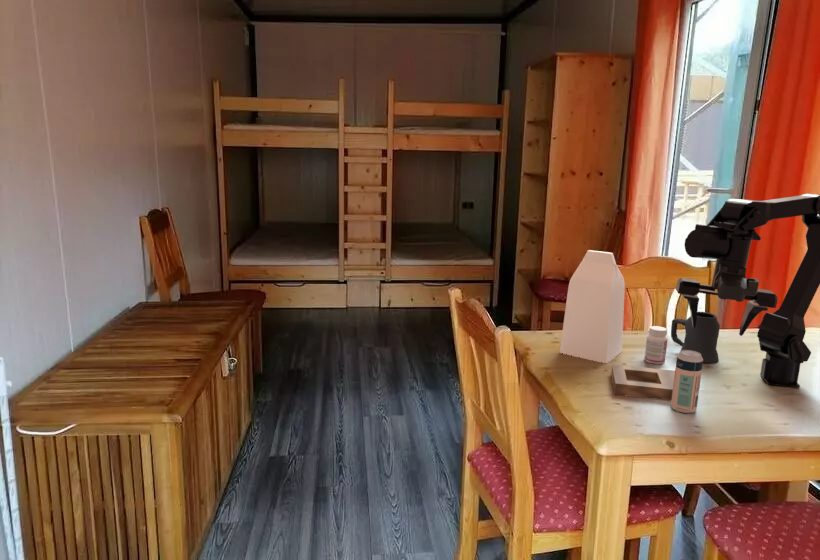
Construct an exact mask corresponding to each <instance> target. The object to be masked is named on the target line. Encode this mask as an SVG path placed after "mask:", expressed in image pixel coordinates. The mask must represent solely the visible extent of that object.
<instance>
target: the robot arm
mask: <svg viewBox="0 0 820 560" xmlns="http://www.w3.org/2000/svg"><path fill="white" fill-rule="evenodd" d="M799 216H801V221H802V223H803V224H804V225H805V227H806V228H807V231H806V233H805V242H806V247H807V249H806V253H804V256H803V259H802V260H801V262H800V264H799V266H798V269H797V271H796V274H795V275H794V277H793V279H792V281H791V283H790V286H789V287H788V290H787V292H786V294H785V296H784V298H783V301H782V302H781V305H780V307H779V308H778V309H777V306H778V305H777V304H778V300H779V299H778V296H777V294H776V293H774V292H773V291H772V290H770V289H762V288H759V284H760V281H759V279H758V278H752V277H746V273H747V264H748V261H749V254H750V250H751V246H752V245H751V244H752V241H761V240H762V238H761V236H760V235H759V234H758V233H757V231H756V229H758V228H760V227H763V226H765V225H766V224H768V223H769V222H770V221H773V220H780V219H785V218H792V217H793V218H794V217H799ZM684 249H685V252H686V254H687V255H688V257H690V258H693V259H694V258H696V259H711V260H712V259H713V260H715V259H716V260H715V264H714V265H715V266H714V271H713V276H712V280H711V285H709V284H701V283H700V282H699V280H698V279H692V278H687V277H680V278H678V279H677V282H676V285H675V286H676V287H675V291H676V292H677V294H679V295H681V296H682V298H684V299H686V300H687V303H688V307H689V310H690V312H689V313H690V316H691V319H692V325H693V328H695V327H696V323H697V312H699V311H698V309H699V308H698V307H699V301H700V298H699V296H698V295H699V293H700V294H705V295H710V296H711V295H712V296H717V297H718V298H719V299H721V300H724V301H725V300H731V301H736V302H737V303H738V302H739V303H742V302H744V301H745V300H746V305H745V309H744V312H743V315H742V320H741V324H740V327H739V333H738V334H739V336H740V337H742V336H743V335H744V334H745V332H746V331H747V329H748V328H749V326H750V325H751V323H752V322H753V320H754V319H755V318H756V317H757V316H758V314H760V313H761V312H763V311H764V312H766V313H765V314H764V315H763V318H762V319H761V322H760V324H759V325H758V326H757V329H758V331H757V335H756V337H757V338H758V342H759V348H760V351H761V352H765V353H766V354H765V357H763V358H762V361H761V368H760V374H759V375H760V377H761V378H762V379H763V380H764V382H765V383H766V384H767V385H771V386H779V387H780V386H781V387H791V388H796V389H797V388H800V387H801V384H800V383H798V381H799V373H800V368H801V364H803V363H805V362H808V361H809V359H810V357H811V355H812V351H811V350H810V349H809V347H808V346H807V344H806V343H805V342H804V339H805V335H806V333H807V332H806V331H807V330H806V325H805V316H806V314H807V312H808V310H809V307H810V305H811V303H812V301H813V299H814V297H815V295H816V293H817V291H818V289H819V287H820V194H815V193H804V194H801V195H794V196H787V197H780V198H773V199H766V200H755V199H754V200H752V199H741V198H730V199H727V200H726V201H724V204H723V206H722V207H721V208H720V209H719V211H718V212H717V213H716V214H715V215H714V216H713V218H711V219H710V221H709V222H708V223H707V224H699V223H697V224H695V227H694V230H691V231H690V232H689V233H688V235H687V236H686V238H684ZM769 308H770V309H771V308H772V309H777V310H775V311H773V313H770V312H768V310H769Z"/></svg>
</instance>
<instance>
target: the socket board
mask: <svg viewBox="0 0 820 560" xmlns="http://www.w3.org/2000/svg"><path fill="white" fill-rule="evenodd" d="M610 371H611V372H610V376H611V382H612V383H611V384H612V387H613V394H614V395H615V394H619V395H618V396H624V395H627V396H626V397H633V396H634V397H635V398H643V399H652V400H661V401H669V402H671V400H672V392H673V384H674V376H675V370H673V369H672V370H670V369H662V368H653V367H652V368H651V367H641V366H633V365H622V364H611V370H610Z"/></svg>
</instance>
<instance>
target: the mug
mask: <svg viewBox="0 0 820 560" xmlns="http://www.w3.org/2000/svg"><path fill="white" fill-rule="evenodd" d="M678 324H679V325H682V326H684V330H685V335H684V341H682V339H680V338H679V337H678V332H677V331H678ZM720 328H721V325H720V323H719V320H718V316H717V315H716V314H714V313H712V312H706V311H697V323H696V327H695V328H693V325H692V319H691V315H690V316H689V317H688V318H686V319H683V318H673V319H672V320H671V328H670V336H671V340H672V342H674V343H676V344H677V345H679V346H681V348H680V351H682V350H692V351H696V352H699V353H700V354H701V356H702V358H703V365H705V364H707V365H713V364H717V363H718V362H719V359H720V358H719V354H718V349H717V345H718V339H719V335H720Z"/></svg>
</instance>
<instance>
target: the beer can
mask: <svg viewBox="0 0 820 560" xmlns="http://www.w3.org/2000/svg"><path fill="white" fill-rule="evenodd" d="M703 365H704V364H703V358H702V356H701V354H700V353H699V352H696V351H692V350H682V351H681V350H680V351H679V352H678V353H677V355H676V359H675V369H674V371H675V376H674V384H673V392H672V400H671V401H670V407H671V408H672V409H673V410H675V411H676V412H678V413H682V414H692V413H694V412H697V409H698V403H699V402H698V401H699V395H700V386H701V378H702V372H703Z"/></svg>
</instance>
